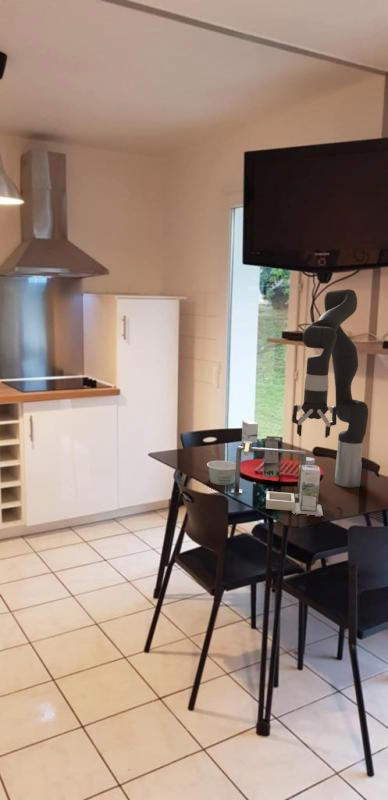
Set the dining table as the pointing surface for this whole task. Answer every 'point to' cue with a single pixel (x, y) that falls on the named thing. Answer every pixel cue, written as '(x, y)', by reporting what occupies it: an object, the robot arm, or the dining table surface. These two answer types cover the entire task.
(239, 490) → the latch rail
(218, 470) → the food container
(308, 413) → the robot arm
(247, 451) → the latch
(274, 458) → the coffee box
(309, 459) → the pill bottle
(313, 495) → the syrup box
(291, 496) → the socket
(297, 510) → the pad
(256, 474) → the dining table surface
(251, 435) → the ink box
